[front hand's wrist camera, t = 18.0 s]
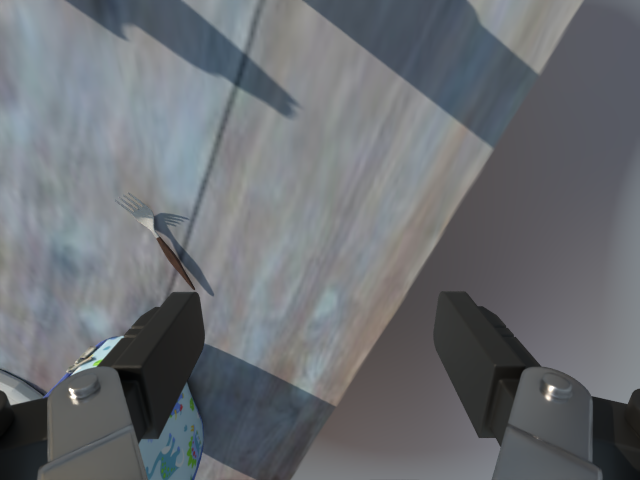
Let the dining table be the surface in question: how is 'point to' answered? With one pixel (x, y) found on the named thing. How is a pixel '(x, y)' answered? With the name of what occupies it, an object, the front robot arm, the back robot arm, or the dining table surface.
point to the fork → (147, 219)
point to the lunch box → (177, 436)
